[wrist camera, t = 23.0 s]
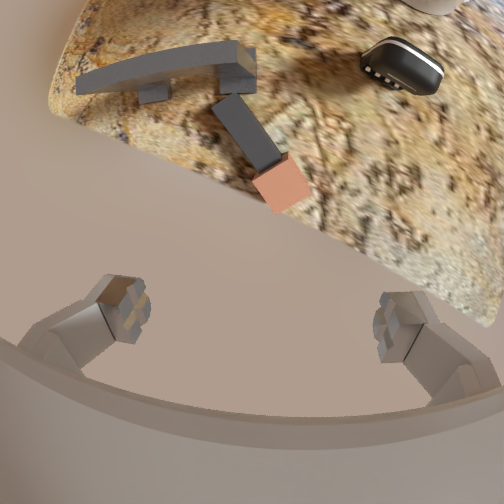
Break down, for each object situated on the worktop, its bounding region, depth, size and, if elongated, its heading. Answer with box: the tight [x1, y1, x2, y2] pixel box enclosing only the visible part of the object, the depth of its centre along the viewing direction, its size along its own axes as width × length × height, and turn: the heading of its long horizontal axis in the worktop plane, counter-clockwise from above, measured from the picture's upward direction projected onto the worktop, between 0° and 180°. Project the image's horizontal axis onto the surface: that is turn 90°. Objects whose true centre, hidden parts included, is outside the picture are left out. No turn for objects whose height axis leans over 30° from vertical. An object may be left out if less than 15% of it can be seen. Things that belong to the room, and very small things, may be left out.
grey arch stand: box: [76, 40, 257, 104], centre depth 24 cm, size 6×16×14 cm, turn 91°
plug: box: [211, 93, 311, 215], centre depth 32 cm, size 15×5×5 cm, turn 35°
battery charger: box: [360, 36, 444, 96], centre depth 21 cm, size 7×4×11 cm, turn 71°
